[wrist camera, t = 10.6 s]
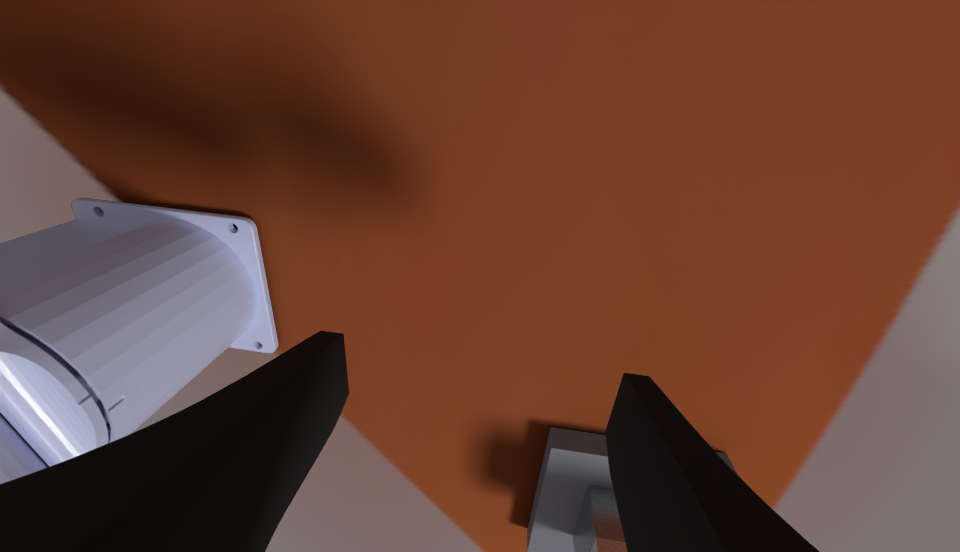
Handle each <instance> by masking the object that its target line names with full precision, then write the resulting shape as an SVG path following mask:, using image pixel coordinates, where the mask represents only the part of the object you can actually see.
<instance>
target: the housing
mask: <svg viewBox="0 0 960 552" xmlns="http://www.w3.org/2000/svg"><path fill="white" fill-rule="evenodd" d="M573 545H574V552H628V551H627V547H626V543H625V538H624V534H623V530H622V525H621V521H620V516H619V512H618V508H617V503H616V499H615V494H614V490H613V488H610V487H604V486H597V485H591V484H589V485H588V488H587V491H586V494H585V498H584V501H583V504H582V507H581V510H580V514H579V517H578V520H577V523H576V526H575V530H574V533H573Z"/></svg>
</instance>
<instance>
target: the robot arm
mask: <svg viewBox="0 0 960 552" xmlns="http://www.w3.org/2000/svg"><path fill="white" fill-rule="evenodd" d="M71 207H72V210H73V213H74V215H75V218H76V220H74V221H70V222H68V223H64V224H61V225H58V226H55V227H51V228H48V229H46V230H42V231H39V232H36V233H33V234H29V235H26V236H23V237H20V238H16V239H13V240H10V241H7V242H4V243H0V552H265V550H266V548H267V546H268V544H269V542H270V540H271V537H272V536H273V534H274V532H275V530H276V528H277V526H278V524H279V522H280V520H281V519H282V517H283V515H284V513H285V511H286V510H287V508H288V506H289V505H290V503H291V501H292V499H293V498H294V496H295V494H296V492H297V491H298V489H299V488H300V486H301V484H302V483H303V481H304V479H305V477H306V476H307V474H308V472H309V470H310V469H311V467H312V466H313V464H314V462H315V461H316V459H317V457H318V455H319V453H320V452H321V450H322V448H323V447H324V445H325V443H326V441H327V439H328V438H329V436H330V435H331V433H332V431H333V429H334V427H335V425H336V423H337V420H338V418H339V416H340V414H341V411H342V409H343V407H344V404H345V402H346V399H347V397H348V395H349V388H348V377H347V367H346V356H345V345H344V334H341V333H334V332H326V331H320V332H318V333H316V334H314V335H313V336H311V337H309V338H307V339H306V340H304V341H302V342H301V343H299V344H298V345H296V346H294V347H293V348H291V349H289V350H288V351H286V352H285V353H283V354H281V355H280V356H278V357H276V358H275V359H273V360H271V361H270V362H268V363H266V364H265V365H263V366H262V367H260V368H258V369H256V370H255V371H253V372H251V373H250V374H248V375H246V376H245V377H243V378H241V379H239V380H238V381H236V382H234V383H232V384H230V385H228V386H227V387H225V388H223V389H221V390H219V391H218V392H216V393H214V394H212V395H211V396H208V397H207V398H205V399H203V400H201V401H199V402H197V403H196V404H194V405H192V406H190V407H188V408H186V409H184V410H182V411H180V412H178V413H176V414H174V415H171V416H169V417H167V418H165V419H163V420H161V421H159V422H156V423H154V424H152V425H150V426H148V427H146V428H144V429H141V430H139V431H137V432H135V433H132V432H133V431H134V430H135V429H137V427H139V426H140V425H141V424H142V423H143V422H144V421H146V420H147V419H148V418H149V417H150V416H151V415H152V414H153V413H155V412H156V411H157V410H158V409H159V408H160V407H161V406H162V405H164V404H165V403H166V402H167V401H168V400H169V399H170V398H171V397H173V395H175V394H176V393H177V392H178V391H179V390H180V389H181V388H183V387H184V386H185V385H186V384H187V383H188V382H189V381H190V380H191V379H193V378H194V377H195V376H196V375H197V374H198V373H199V372H201V371H202V370H203V369H204V368H205V367H206V366H207V365H208V364H210V363H211V362H212V361H213V360H214V359H215V358H216V357H217V356H219V354H221V353H222V352H223V351H224V350H225V349H226V348H228V347H230V348H237V349H244V350H251V351H257V352H265V353H272V352H274V351H275V350H276V349H277V348H278V339H277V334H276V329H275V323H274V318H273V312H272V307H271V302H270V296H269V291H268V286H267V280H266V275H265V269H264V264H263V259H262V253H261V248H260V243H259V237H258V232H257V227H256V225H255V223H254V222H253V221H252V220H251V219H249V218H246V217H239V216H231V215H223V214H215V213H206V212H198V211H190V210H181V209H173V208H165V207H156V206H148V205H140V204H131V203H123V202H115V201H106V200H98V199H89V198H79V199H75V200H73V201H72V203H71ZM102 210H103V211H102ZM233 224H235V225H236V226H237V228H238V230H236V229H235V228H234V226H233ZM259 342H260V343H261V344H260V343H259ZM131 433H132V434H131ZM606 443H607V454H608V462H609V471H610V476H611V481H612V485H613V490H614V494H615V499H616V503H617V508H618V512H619V516H620V521H621V525H622V530H623V534H624V538H625V543H626V547H627V551H628V552H819V551H818V550H817V549H816V548H814V547H813V546H812V545H811V544H810V543H809V542H808V541H807V540H805V539H804V538H803V537H802V536H801V535H800V534H799V533H798V532H797V531H795V530H794V529H793V528H792V527H791V526H790V525H789V524H788V523H786V522H785V520H783V519H782V518H781V517H780V516H779V515H778V514H777V513H776V512H775V511H774V510H772V509H771V508H770V507H769V506H768V505H767V504H766V503H765V502H764V501H763V500H762V499H761V498H760V497H759V496H758V495H757V494H756V493H755V492H754V491H753V490H752V489H751V488H750V487H749V486H748V485H747V484H746V483H745V482H744V481H743V480H742V479H741V478H740V477H739V476H738V475H737V474H736V473H735V472H734V471H733V470H732V469H731V468H730V467H729V466H728V465H727V464H726V463H725V462H724V461H723V460H722V459H721V457H720V456H719V455H718V454H717V453H716V452H715V451H714V450H713V449H712V448H711V447H710V446H709V445H708V443H707V442H706V441H705V440H704V439H703V438H702V437H701V436H700V434H699V433H698V432H697V431H696V430H695V429H694V428H693V427H692V425H691V424H690V423H689V422H688V421H687V420H686V419H685V417H684V416H683V415H682V414H681V413H680V412H679V410H678V409H677V408H676V407H675V406H674V405H673V403H672V402H671V401H670V400H669V399H668V398H667V396H666V395H665V394H664V393H663V392H662V390H661V389H660V388H659V387H658V386H657V385H656V384H655V382H654V381H653V380H652V379H651V378H650V377H649V376H643V375H636V374H629V373H624V374H623V377H622V381H621V384H620V387H619V390H618V393H617V397H616V400H615V403H614V406H613V409H612V412H611V416H610V419H609V422H608V425H607V428H606Z"/></svg>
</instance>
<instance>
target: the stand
mask: <svg viewBox="0 0 960 552" xmlns="http://www.w3.org/2000/svg"><path fill="white" fill-rule="evenodd" d="M716 453H717V454H718V455H719V456H720V457H721V459H722V460H723V461H724V462H725V463H726V464H727V465H728V466H729V467H730V468H731V469H732V470H733V471H734V472H735V473H736V471H735V469H734V467H733V465H732V463H731V461H730V459H729V457H728V455H727V454H726V453H721V452H716ZM736 474H737V473H736ZM589 484H591V485H597V486H604V487H610V488H613V485H612V481H611V476H610V471H609V462H608V454H607V443H606V435H601V434H595V433H588V432H581V431H575V430H568V429H561V428H555V427H550V430H549V435H548V439H547V444H546V448H545V453H544V457H543V462H542V466H541V471H540V475H539V480H538V484H537V489H536V493H535V498H534V502H533V507H532V511H531V516H530V520H529V524H528V530H527V552H574V545H573V533H574V530H575V526H576V523H577V520H578V517H579V514H580V510H581V507H582V504H583V501H584V498H585V494H586V491H587V488H588V485H589Z"/></svg>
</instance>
